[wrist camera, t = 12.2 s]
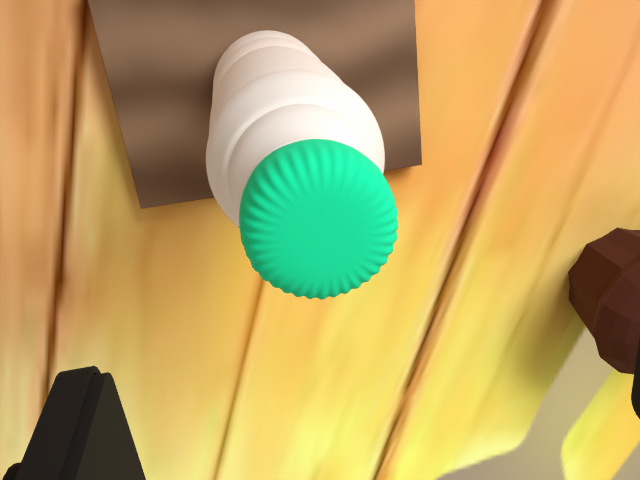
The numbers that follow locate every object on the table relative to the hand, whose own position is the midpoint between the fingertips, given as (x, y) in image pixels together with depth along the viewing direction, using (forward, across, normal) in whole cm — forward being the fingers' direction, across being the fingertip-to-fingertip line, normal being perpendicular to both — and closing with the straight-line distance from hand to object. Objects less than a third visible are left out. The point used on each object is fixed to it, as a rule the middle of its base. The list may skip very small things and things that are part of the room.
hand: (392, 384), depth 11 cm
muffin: (+34, -27, +21) cm, 48 cm away
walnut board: (+34, 0, +1) cm, 34 cm away
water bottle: (+32, 0, +1) cm, 33 cm away
